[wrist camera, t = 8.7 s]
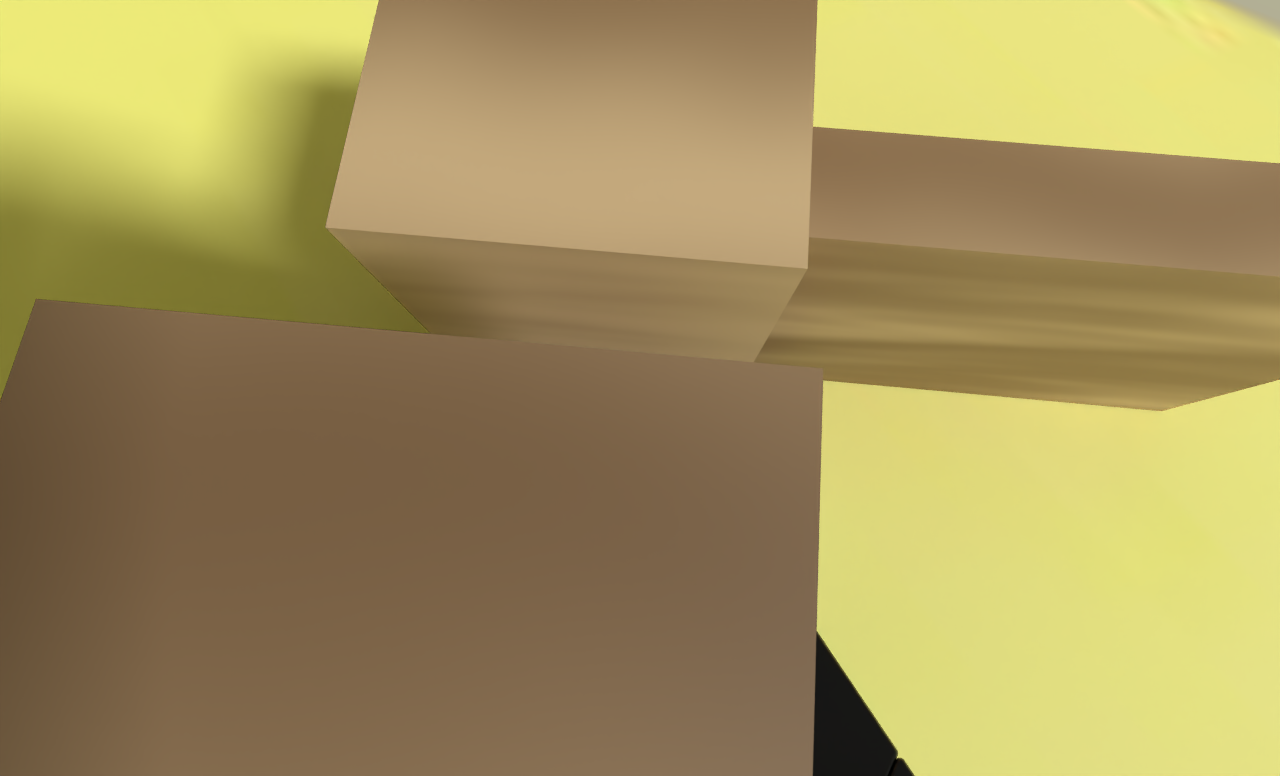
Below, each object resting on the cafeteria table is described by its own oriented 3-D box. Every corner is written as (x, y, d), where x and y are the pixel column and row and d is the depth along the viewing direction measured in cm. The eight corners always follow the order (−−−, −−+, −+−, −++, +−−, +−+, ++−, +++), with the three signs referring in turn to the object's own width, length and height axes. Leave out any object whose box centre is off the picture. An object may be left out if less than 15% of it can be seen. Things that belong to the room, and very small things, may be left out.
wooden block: (673, 720, 14) (806, 1523, 2) (466, 698, 14) (-349, 1356, 3) (690, 507, 15) (831, 360, 4) (497, 489, 15) (31, 290, 4)
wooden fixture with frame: (1208, 870, 15) (2261, 1468, 5) (373, 775, 16) (-83, 1154, 6) (1149, 291, 18) (1714, 3, 9) (468, 233, 19) (283, -97, 9)
